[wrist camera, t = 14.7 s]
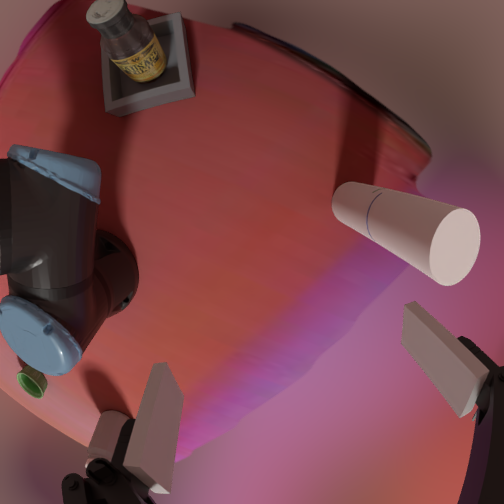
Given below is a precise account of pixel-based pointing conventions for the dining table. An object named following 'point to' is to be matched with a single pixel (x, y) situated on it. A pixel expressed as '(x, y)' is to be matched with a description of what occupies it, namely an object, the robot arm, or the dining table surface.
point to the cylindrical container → (412, 228)
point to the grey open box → (163, 89)
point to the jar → (106, 435)
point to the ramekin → (32, 381)
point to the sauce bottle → (128, 40)
